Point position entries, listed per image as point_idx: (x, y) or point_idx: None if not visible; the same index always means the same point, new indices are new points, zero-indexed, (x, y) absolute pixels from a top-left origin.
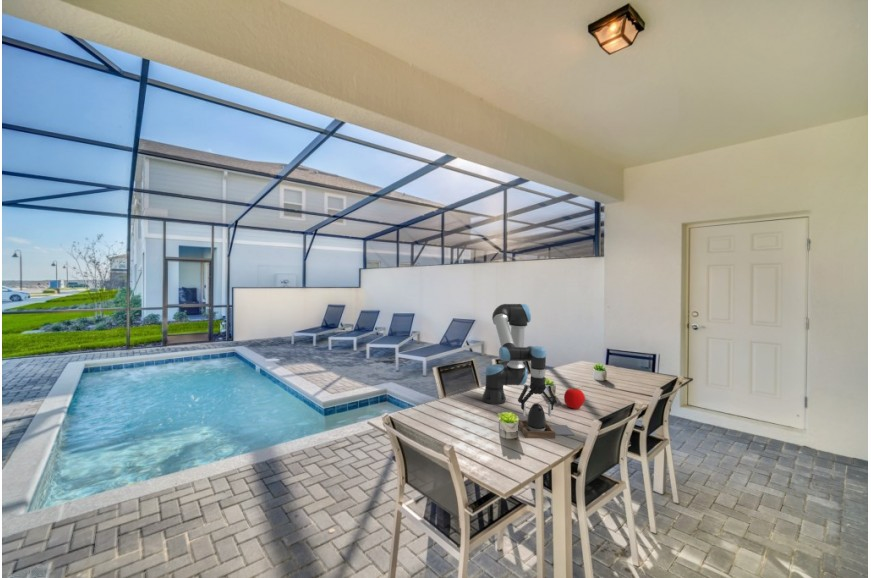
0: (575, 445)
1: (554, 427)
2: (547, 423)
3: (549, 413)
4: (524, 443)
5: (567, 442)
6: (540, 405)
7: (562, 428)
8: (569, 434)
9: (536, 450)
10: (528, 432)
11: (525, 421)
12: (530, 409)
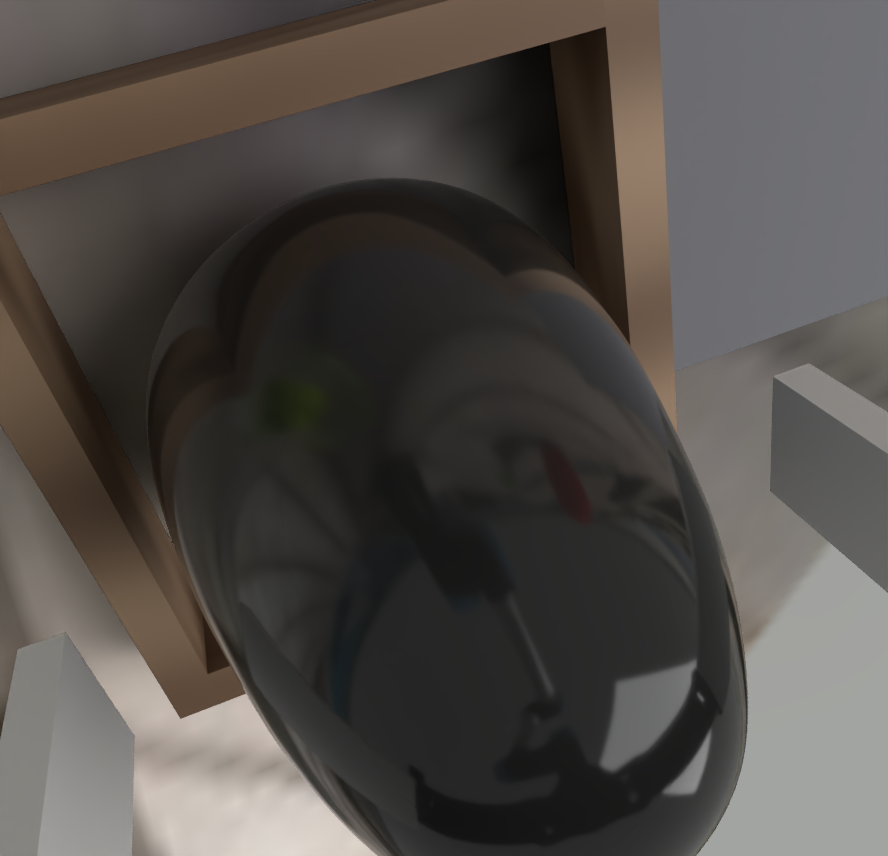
0: (813, 560)
1: (736, 56)
2: (638, 153)
3: (827, 518)
4: (191, 784)
5: (753, 525)
6: (725, 809)
7: (868, 61)
8: (876, 298)
9: (355, 846)
10: (235, 692)
11: (76, 173)
12: (298, 768)
